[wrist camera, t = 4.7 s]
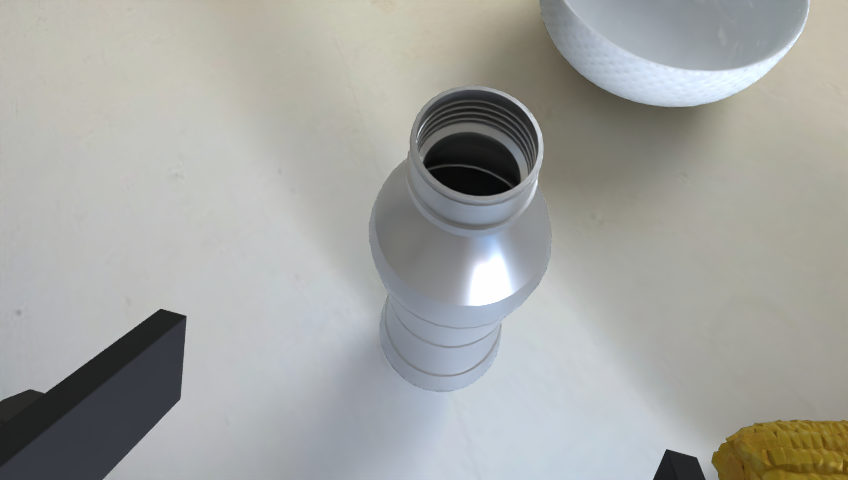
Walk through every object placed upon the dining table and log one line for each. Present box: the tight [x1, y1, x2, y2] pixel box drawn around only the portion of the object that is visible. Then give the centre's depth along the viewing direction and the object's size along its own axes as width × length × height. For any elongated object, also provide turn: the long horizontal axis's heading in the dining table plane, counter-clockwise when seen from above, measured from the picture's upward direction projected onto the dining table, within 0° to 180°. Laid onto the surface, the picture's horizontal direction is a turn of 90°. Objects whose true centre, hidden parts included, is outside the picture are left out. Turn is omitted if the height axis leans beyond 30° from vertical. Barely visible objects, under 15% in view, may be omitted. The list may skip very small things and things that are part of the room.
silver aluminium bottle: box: [369, 86, 552, 392], centre depth 25 cm, size 6×7×20 cm
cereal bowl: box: [540, 0, 810, 107], centre depth 40 cm, size 17×17×7 cm
